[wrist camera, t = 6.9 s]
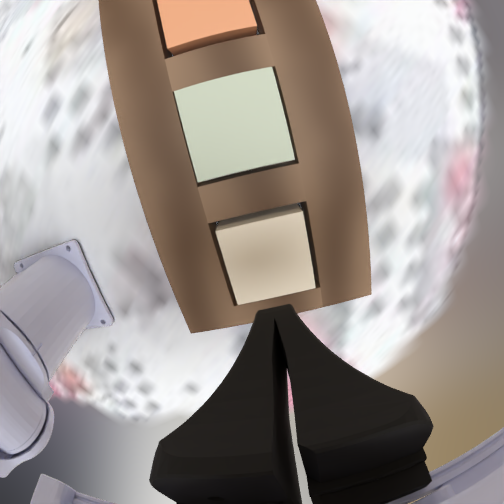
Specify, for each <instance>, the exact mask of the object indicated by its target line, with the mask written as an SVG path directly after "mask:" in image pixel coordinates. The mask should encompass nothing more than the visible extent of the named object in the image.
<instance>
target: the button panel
mask: <svg viewBox="0 0 504 504" xmlns="http://www.w3.org/2000/svg"><path fill="white" fill-rule="evenodd" d="M249 2H250V5H251V8H252V11H253V15H254V18H255V21H256V24H257V28H258V32H259V35H255V36H249V37H244V38H239V39H235V40H230V41H226V42H221V43H217V44H213V45H210V46H206V47H202V48H199V49H195V50H192V51H189V52H185V53H182V54H179V55H176V56H173V57H172V53H171V52H170V51H169V50H168V49H167V44H166V40H165V36H164V31H163V26H162V22H161V17H160V12H159V8H158V3H157V0H99V10H100V20H101V29H102V37H103V44H104V51H105V57H106V63H107V69H108V75H109V80H110V85H111V90H112V95H113V100H114V105H115V109H116V114H117V118H118V122H119V127H120V131H121V135H122V139H123V143H124V146H125V150H126V154H127V158H128V161H129V165H130V168H131V172H132V175H133V179H134V182H135V185H136V189H137V192H138V195H139V198H140V202H141V205H142V208H143V211H144V214H145V217H146V220H147V223H148V226H149V229H150V232H151V234H152V237H153V240H154V243H155V246H156V248H157V251H158V254H159V257H160V259H161V262H162V264H163V267H164V270H165V272H166V275H167V277H168V280H169V282H170V285H171V287H172V290H173V292H174V295H175V297H176V300H177V302H178V304H179V307H180V309H181V311H182V314H183V316H184V318H185V321H186V323H187V325H188V327H189V330H190V332H191V333H197V332H203V331H209V330H215V329H221V328H227V327H232V326H238V325H243V324H248V323H253V321H254V318H255V315H256V313H257V311H258V310H263V309H267V308H272V307H277V306H281V305H286V304H291V305H292V306H293V308H294V310H295V311H296V313H300V312H305V311H309V310H313V309H317V308H321V307H325V306H330V305H333V304H337V303H341V302H345V301H349V300H353V299H356V298H360V297H364V296H367V295H371V267H370V249H369V236H368V224H367V214H366V205H365V197H364V189H363V181H362V174H361V168H360V162H359V156H358V150H357V144H356V139H355V134H354V129H353V124H352V119H351V115H350V110H349V106H348V102H347V97H346V93H345V89H344V85H343V82H342V78H341V74H340V71H339V67H338V64H337V60H336V57H335V54H334V50H333V47H332V44H331V41H330V38H329V35H328V32H327V29H326V26H325V24H324V21H323V18H322V15H321V13H320V10H319V7H318V5H317V2H316V0H249ZM267 67H272V69H273V72H274V76H275V80H276V83H277V87H278V91H279V95H280V98H281V102H282V106H283V110H284V114H285V118H286V123H287V127H288V131H289V135H290V140H291V144H292V148H293V153H294V158H295V160H292V161H287V162H282V163H277V164H273V165H268V166H264V167H259V168H255V169H251V170H246V171H242V172H238V173H234V174H230V175H226V176H222V177H218V178H214V179H211V180H207V181H202V182H198V181H197V178H196V174H195V171H194V167H193V163H192V160H191V156H190V152H189V148H188V145H187V141H186V137H185V133H184V129H183V125H182V122H181V118H180V114H179V110H178V106H177V102H176V98H175V94H174V91H177V90H180V89H183V88H186V87H189V86H192V85H196V84H199V83H202V82H206V81H210V80H213V79H217V78H221V77H225V76H229V75H233V74H238V73H242V72H247V71H252V70H257V69H262V68H267ZM299 202H301V206H302V211H303V215H304V220H305V226H306V231H307V237H308V243H309V249H310V255H311V261H312V267H313V274H314V280H315V287H316V288H314V289H309V290H305V291H301V292H296V293H292V294H288V295H283V296H279V297H274V298H269V299H265V300H260V301H255V302H250V303H245V304H240V305H238V304H237V301H236V298H235V295H234V291H233V288H232V285H231V282H230V278H229V275H228V272H227V269H226V265H225V262H224V259H223V255H222V252H221V249H220V245H219V242H218V239H217V235H216V232H215V231H216V228H217V225H216V221H220V220H224V219H229V218H233V217H237V216H241V215H245V214H250V213H254V212H258V211H263V210H267V209H271V208H276V207H280V206H285V205H290V204H294V203H299Z"/></svg>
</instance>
